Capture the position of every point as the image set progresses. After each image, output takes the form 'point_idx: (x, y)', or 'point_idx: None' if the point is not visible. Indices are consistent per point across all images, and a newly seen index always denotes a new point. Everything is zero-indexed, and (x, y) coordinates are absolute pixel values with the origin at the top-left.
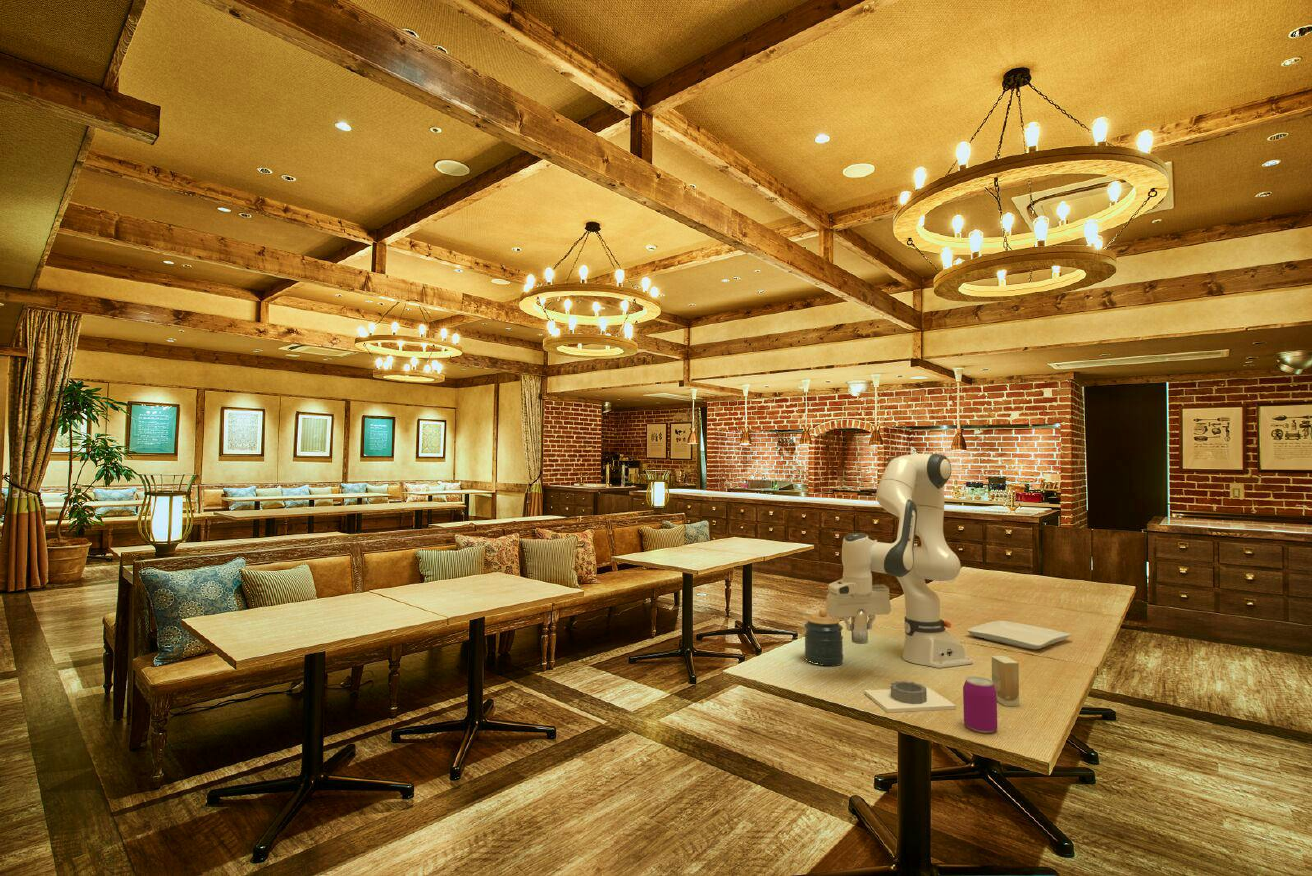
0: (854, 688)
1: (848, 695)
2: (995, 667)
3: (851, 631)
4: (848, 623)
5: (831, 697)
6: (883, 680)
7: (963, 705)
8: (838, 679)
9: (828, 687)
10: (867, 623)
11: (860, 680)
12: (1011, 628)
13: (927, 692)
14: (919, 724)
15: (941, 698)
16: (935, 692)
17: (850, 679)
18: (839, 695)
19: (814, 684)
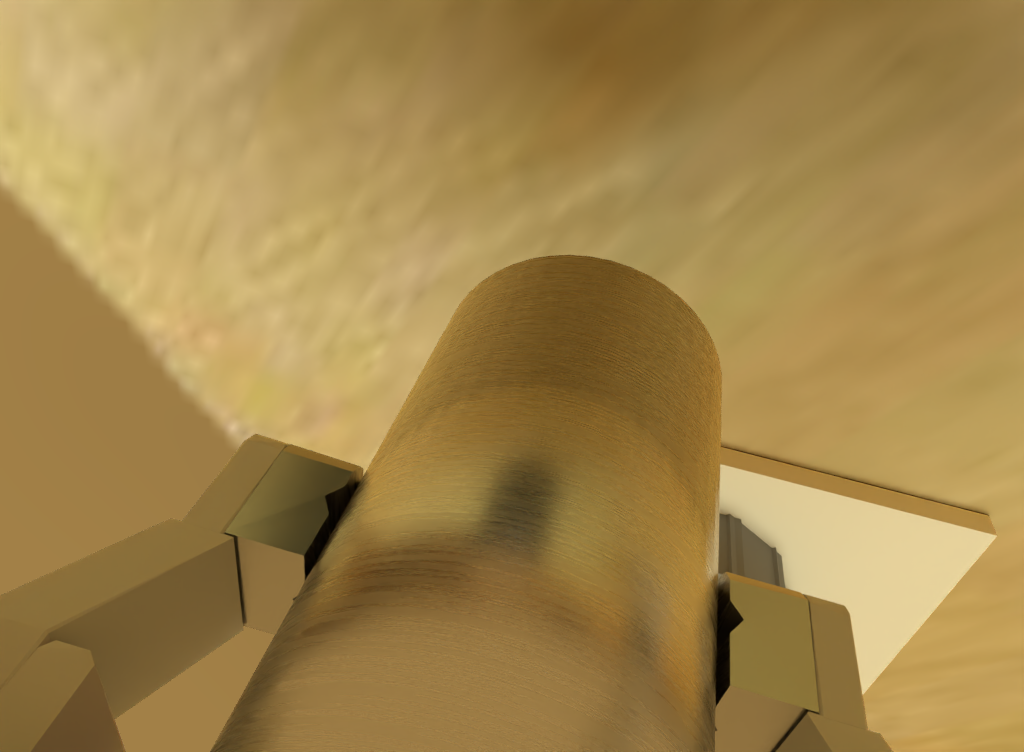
0: (457, 271)
1: (339, 359)
2: None
3: (393, 423)
4: (161, 659)
5: (207, 343)
6: (873, 208)
7: None
8: (437, 15)
9: (252, 175)
10: (729, 742)
11: (644, 124)
12: None
13: (881, 583)
14: None
15: (860, 662)
16: (937, 603)
17: (562, 60)
18: (275, 337)
19: (151, 64)
